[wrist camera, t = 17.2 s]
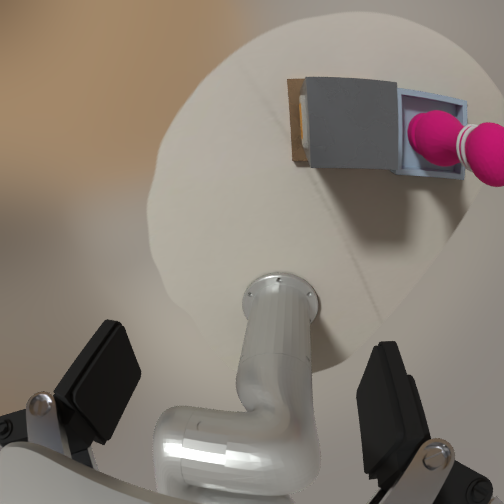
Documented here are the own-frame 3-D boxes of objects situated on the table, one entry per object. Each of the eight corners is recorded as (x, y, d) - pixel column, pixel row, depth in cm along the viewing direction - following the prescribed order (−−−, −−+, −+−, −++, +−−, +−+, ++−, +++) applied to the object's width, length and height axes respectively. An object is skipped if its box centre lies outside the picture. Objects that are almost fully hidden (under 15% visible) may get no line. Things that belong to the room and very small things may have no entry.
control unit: (371, 160, 35) (411, 186, 23) (292, 159, 37) (294, 185, 24) (369, 82, 30) (410, 69, 18) (287, 80, 32) (286, 61, 20)
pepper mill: (454, 134, 30) (551, 166, 13) (428, 169, 34) (515, 223, 16) (422, 98, 29) (518, 103, 12) (394, 135, 33) (479, 164, 15)
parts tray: (455, 175, 34) (464, 179, 31) (389, 170, 35) (395, 174, 33) (457, 100, 28) (466, 101, 26) (388, 88, 30) (395, 87, 28)
